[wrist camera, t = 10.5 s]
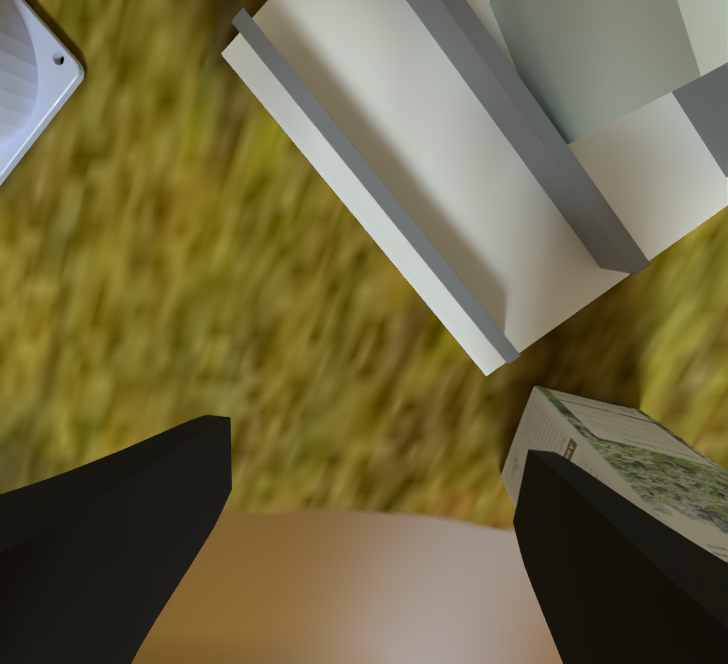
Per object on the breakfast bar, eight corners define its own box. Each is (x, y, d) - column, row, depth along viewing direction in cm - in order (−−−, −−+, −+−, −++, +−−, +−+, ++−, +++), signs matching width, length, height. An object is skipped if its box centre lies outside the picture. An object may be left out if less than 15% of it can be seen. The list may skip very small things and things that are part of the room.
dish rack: (231, 64, 17) (188, 21, 13) (501, -242, 14) (536, -399, 10) (481, 368, 19) (500, 398, 16) (757, 171, 16) (854, 155, 13)
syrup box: (496, 477, 21) (706, 991, 7) (532, 377, 19) (906, 777, 5) (600, 502, 21) (1036, 1079, 7) (645, 404, 19) (1344, 887, 5)
